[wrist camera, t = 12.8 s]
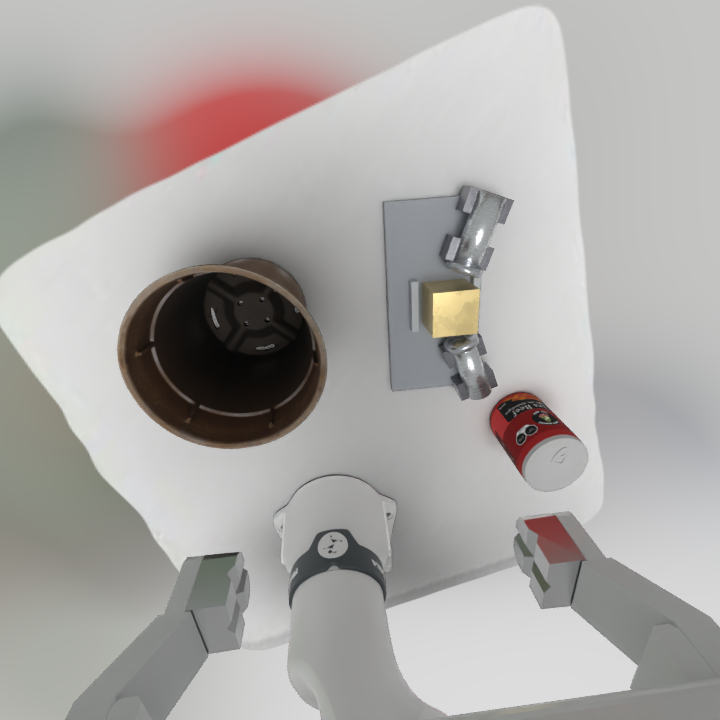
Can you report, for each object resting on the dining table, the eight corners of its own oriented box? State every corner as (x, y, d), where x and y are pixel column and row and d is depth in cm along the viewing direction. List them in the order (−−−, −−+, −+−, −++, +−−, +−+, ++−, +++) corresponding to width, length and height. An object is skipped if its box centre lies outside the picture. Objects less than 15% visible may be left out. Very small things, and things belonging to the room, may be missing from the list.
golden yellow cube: (464, 278, 46) (480, 289, 41) (462, 319, 48) (477, 333, 43) (422, 282, 45) (433, 293, 41) (422, 323, 47) (432, 337, 43)
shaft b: (463, 186, 41) (478, 186, 37) (503, 199, 42) (522, 201, 38) (436, 262, 44) (447, 270, 40) (474, 272, 45) (489, 281, 41)
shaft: (490, 376, 51) (504, 393, 47) (456, 391, 52) (467, 409, 48) (472, 323, 48) (485, 336, 44) (435, 339, 48) (445, 354, 44)
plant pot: (295, 215, 42) (279, 233, 28) (344, 345, 49) (353, 415, 34) (157, 266, 43) (71, 309, 29) (224, 386, 50) (183, 471, 35)
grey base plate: (472, 379, 52) (478, 387, 50) (391, 387, 52) (393, 396, 50) (482, 193, 43) (490, 194, 41) (383, 202, 42) (386, 203, 40)
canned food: (547, 390, 54) (597, 437, 44) (534, 437, 57) (578, 491, 47) (493, 390, 53) (532, 438, 44) (484, 438, 57) (518, 493, 47)
